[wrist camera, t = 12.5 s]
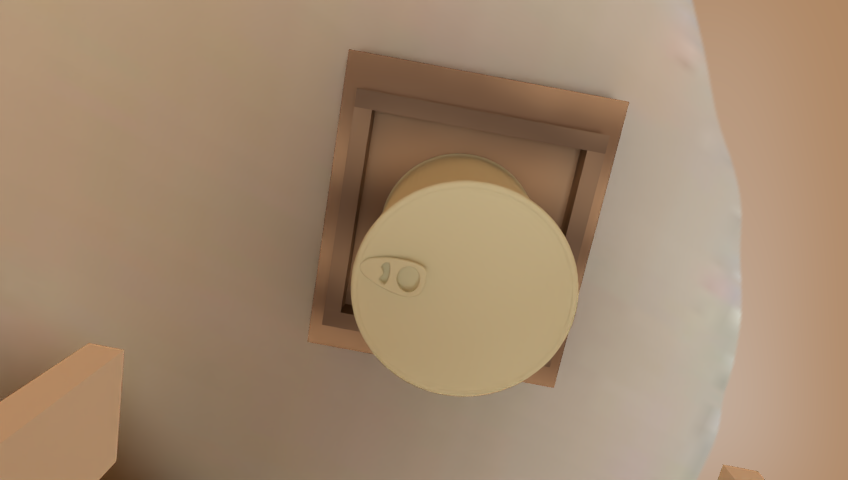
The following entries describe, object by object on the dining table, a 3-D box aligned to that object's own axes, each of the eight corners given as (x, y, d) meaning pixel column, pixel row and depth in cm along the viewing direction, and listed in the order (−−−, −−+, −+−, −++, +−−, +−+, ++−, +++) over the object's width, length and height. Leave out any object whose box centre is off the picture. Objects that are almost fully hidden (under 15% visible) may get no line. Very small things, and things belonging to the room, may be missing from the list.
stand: (545, 366, 38) (558, 399, 34) (317, 323, 38) (301, 351, 34) (613, 102, 34) (637, 101, 30) (357, 54, 34) (344, 46, 30)
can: (402, 134, 32) (378, 151, 20) (555, 176, 32) (617, 217, 21) (364, 281, 34) (323, 372, 23) (508, 319, 35) (540, 429, 23)
